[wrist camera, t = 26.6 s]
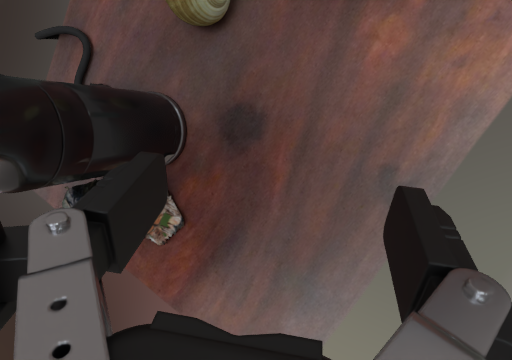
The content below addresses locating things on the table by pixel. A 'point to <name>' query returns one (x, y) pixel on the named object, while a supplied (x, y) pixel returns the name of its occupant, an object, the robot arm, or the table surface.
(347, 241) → the table surface
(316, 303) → the table surface
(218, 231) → the table surface
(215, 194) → the table surface
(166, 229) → the plant with pod
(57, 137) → the robot arm
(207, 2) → the seashell
